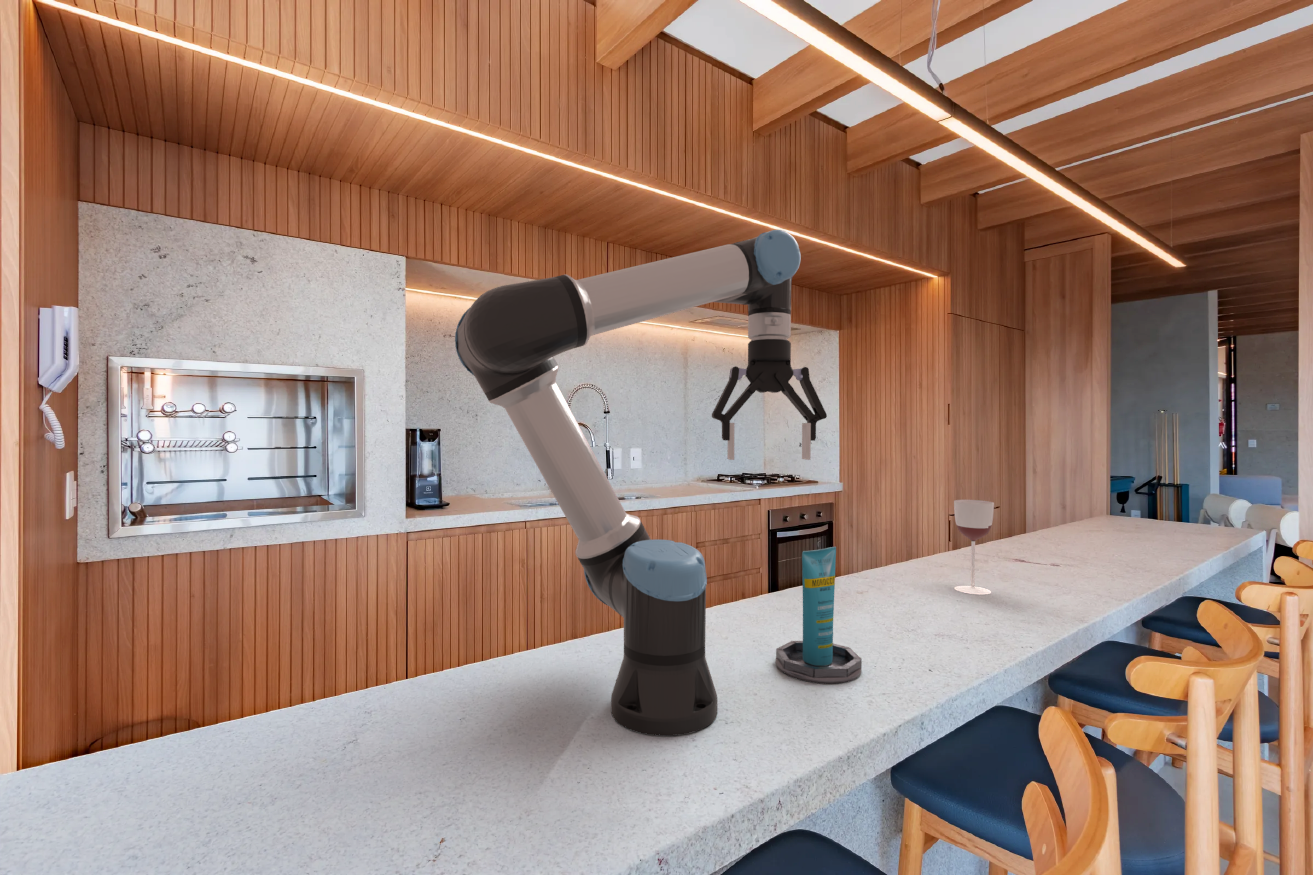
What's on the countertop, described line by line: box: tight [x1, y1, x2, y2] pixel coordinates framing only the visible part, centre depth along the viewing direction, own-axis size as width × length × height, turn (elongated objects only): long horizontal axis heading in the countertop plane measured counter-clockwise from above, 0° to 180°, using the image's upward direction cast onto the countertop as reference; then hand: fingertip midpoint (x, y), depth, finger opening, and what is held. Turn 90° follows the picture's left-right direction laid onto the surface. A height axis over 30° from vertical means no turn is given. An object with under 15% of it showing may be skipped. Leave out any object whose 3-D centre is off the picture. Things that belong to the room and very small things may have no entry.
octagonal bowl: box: [775, 640, 863, 685], centre depth 105 cm, size 14×14×2 cm
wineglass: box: [953, 499, 995, 596], centre depth 155 cm, size 9×10×22 cm
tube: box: [801, 546, 837, 666], centre depth 105 cm, size 7×5×19 cm, turn 124°
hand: (768, 459), depth 111 cm, fingers open, 13 cm apart
